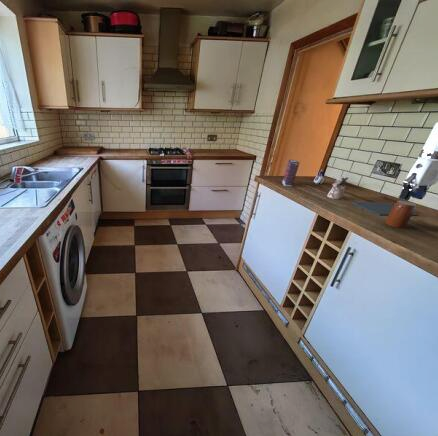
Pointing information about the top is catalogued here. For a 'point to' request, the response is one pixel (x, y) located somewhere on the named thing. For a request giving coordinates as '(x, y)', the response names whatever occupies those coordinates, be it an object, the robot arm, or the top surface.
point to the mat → (377, 207)
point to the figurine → (338, 189)
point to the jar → (400, 214)
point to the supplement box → (290, 172)
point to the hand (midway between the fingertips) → (410, 198)
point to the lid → (418, 193)
